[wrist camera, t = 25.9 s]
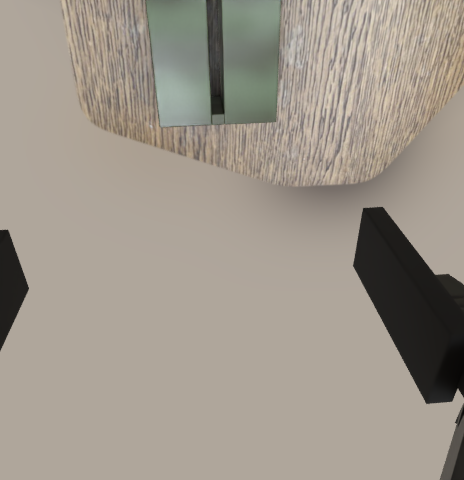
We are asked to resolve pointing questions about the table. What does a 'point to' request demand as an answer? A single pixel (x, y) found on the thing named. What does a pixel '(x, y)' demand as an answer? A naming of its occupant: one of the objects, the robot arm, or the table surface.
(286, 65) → the table surface
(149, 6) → the knife block
